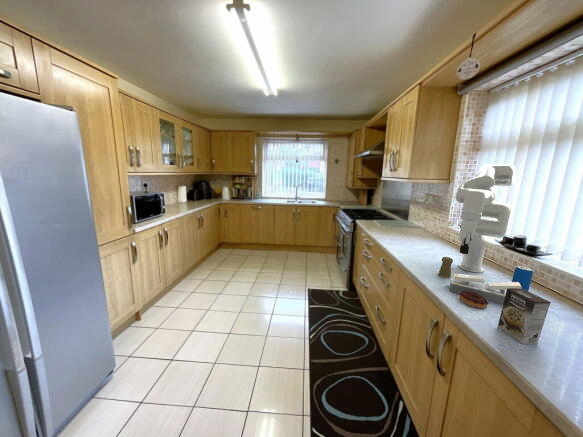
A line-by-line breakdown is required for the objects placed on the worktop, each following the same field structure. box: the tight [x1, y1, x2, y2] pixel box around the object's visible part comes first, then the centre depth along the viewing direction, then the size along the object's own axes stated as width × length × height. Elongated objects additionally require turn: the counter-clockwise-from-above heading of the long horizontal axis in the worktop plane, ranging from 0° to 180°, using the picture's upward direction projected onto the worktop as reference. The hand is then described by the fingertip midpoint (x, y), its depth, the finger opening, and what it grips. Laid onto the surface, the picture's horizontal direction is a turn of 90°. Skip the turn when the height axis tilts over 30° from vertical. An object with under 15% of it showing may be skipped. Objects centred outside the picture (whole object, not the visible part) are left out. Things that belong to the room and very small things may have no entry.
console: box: [449, 277, 507, 306], centre depth 107 cm, size 8×27×6 cm, turn 57°
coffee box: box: [497, 288, 551, 345], centre depth 80 cm, size 9×6×16 cm
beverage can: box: [511, 265, 534, 292], centre depth 114 cm, size 6×6×12 cm
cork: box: [438, 256, 454, 279], centre depth 128 cm, size 6×6×11 cm
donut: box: [459, 291, 489, 309], centre depth 101 cm, size 10×10×4 cm
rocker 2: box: [486, 281, 522, 290], centre depth 104 cm, size 4×11×2 cm, turn 57°
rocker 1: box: [453, 273, 485, 284], centre depth 110 cm, size 4×11×2 cm, turn 57°
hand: (463, 253), depth 110 cm, fingers closed
